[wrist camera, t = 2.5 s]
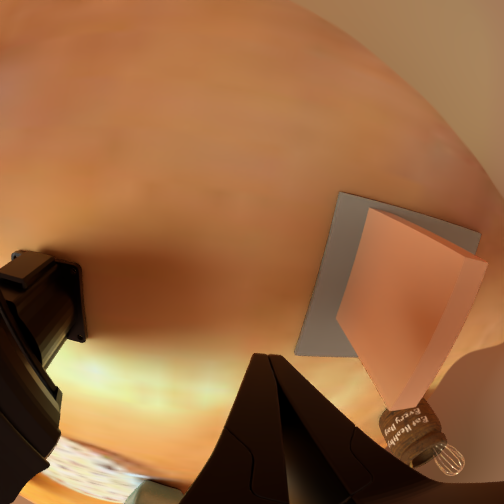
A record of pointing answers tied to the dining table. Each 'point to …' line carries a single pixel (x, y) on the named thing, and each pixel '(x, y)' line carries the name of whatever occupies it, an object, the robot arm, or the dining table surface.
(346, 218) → the slate mat
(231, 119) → the dining table surface
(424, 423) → the utensil holder
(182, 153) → the dining table surface
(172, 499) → the flower pot
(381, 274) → the block
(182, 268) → the dining table surface
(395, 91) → the dining table surface
